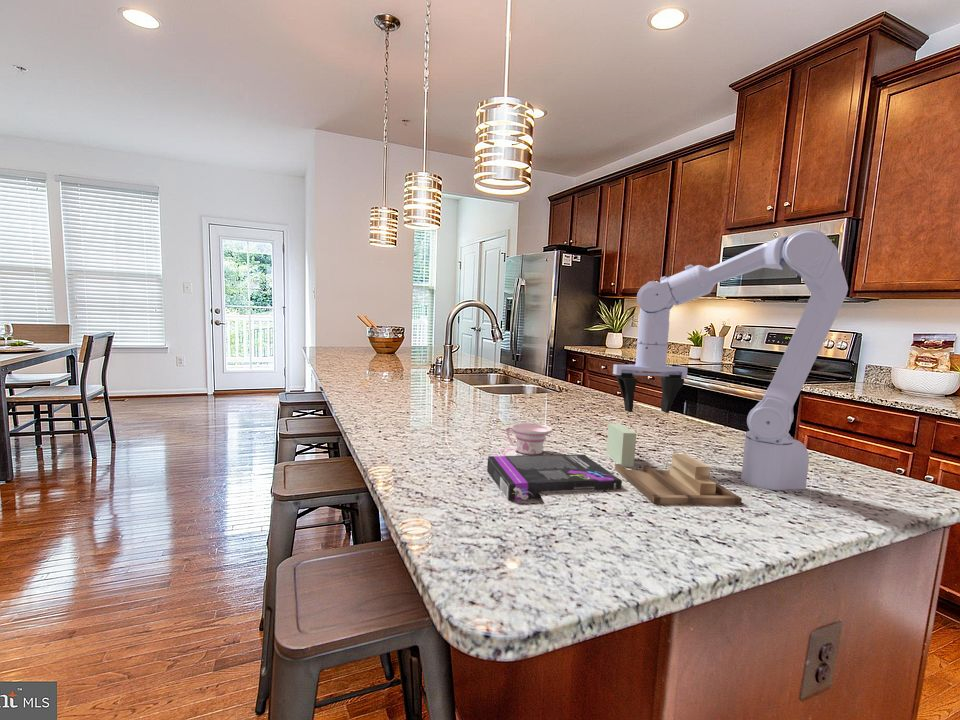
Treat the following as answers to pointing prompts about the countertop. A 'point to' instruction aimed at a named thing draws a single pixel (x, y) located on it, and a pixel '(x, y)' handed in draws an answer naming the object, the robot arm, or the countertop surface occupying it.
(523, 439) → the teacup
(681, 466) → the offcut stack
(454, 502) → the countertop surface
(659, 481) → the walnut rack
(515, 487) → the box
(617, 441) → the pale green block
